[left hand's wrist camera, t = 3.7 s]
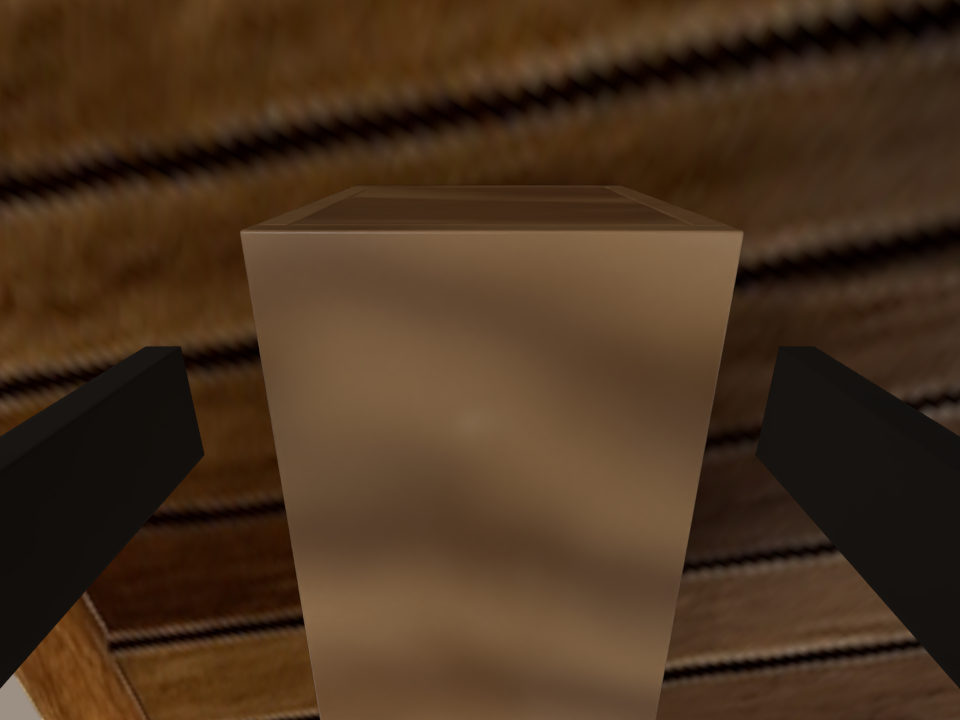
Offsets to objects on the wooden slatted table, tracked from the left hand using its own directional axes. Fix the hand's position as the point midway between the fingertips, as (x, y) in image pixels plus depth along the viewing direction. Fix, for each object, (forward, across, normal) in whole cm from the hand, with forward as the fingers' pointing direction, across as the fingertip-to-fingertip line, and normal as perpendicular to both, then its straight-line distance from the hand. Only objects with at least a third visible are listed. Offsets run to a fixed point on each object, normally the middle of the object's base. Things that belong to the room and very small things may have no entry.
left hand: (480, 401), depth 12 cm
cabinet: (+13, 0, -5) cm, 14 cm away
